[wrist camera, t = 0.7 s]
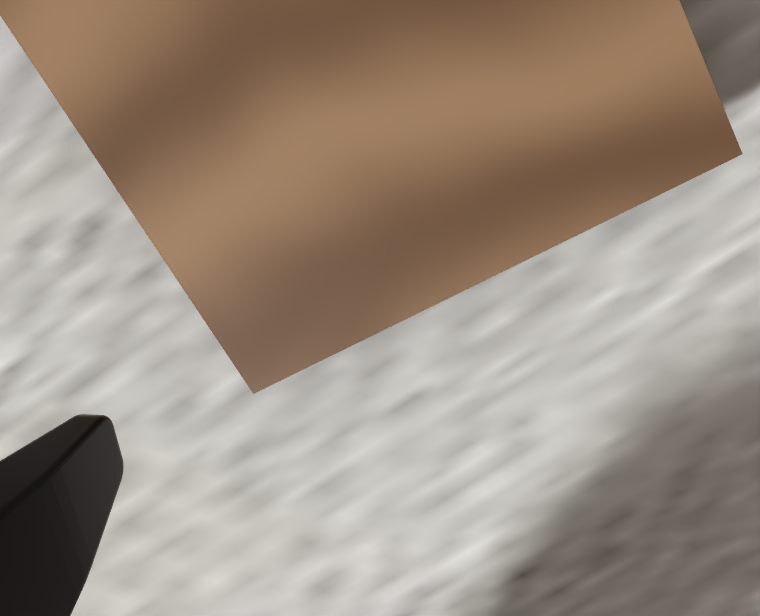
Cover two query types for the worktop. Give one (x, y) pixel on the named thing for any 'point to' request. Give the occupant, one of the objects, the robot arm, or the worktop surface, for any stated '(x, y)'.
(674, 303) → the worktop surface
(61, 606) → the robot arm
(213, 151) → the shelf board
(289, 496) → the worktop surface
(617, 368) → the worktop surface
